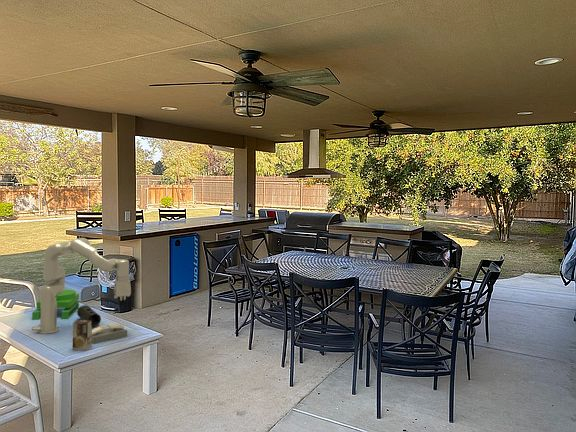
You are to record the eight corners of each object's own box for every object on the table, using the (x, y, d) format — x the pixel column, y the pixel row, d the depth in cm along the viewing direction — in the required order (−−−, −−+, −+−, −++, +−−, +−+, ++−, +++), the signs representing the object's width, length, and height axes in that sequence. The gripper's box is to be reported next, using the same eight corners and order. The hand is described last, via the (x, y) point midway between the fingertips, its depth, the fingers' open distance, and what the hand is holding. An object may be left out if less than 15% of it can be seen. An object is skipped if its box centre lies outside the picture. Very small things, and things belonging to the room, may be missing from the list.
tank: (28, 323, 305) (28, 300, 304) (45, 309, 339) (45, 289, 338) (66, 322, 310) (66, 300, 309) (79, 309, 344) (79, 288, 344)
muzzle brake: (86, 329, 295) (86, 314, 294) (76, 319, 316) (76, 305, 316) (101, 327, 301) (101, 312, 300) (90, 317, 322) (90, 303, 322)
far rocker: (110, 328, 278) (111, 326, 278) (107, 326, 281) (107, 324, 281) (123, 327, 284) (124, 325, 284) (120, 326, 288) (120, 324, 288)
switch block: (93, 343, 266) (93, 335, 266) (85, 339, 274) (85, 331, 274) (127, 336, 283) (127, 328, 282) (118, 332, 291) (118, 324, 290)
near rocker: (92, 334, 269) (91, 333, 269) (88, 333, 272) (88, 331, 272) (106, 328, 275) (105, 326, 275) (102, 326, 279) (102, 324, 279)
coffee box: (92, 346, 262) (92, 320, 261) (87, 350, 255) (88, 323, 255) (76, 346, 262) (77, 319, 261) (71, 349, 255) (72, 322, 254)
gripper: (114, 280, 276) (113, 309, 277) (136, 278, 287) (135, 305, 288) (108, 278, 281) (108, 306, 282) (130, 276, 293) (129, 303, 293)
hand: (121, 306), depth 285 cm, fingers closed
